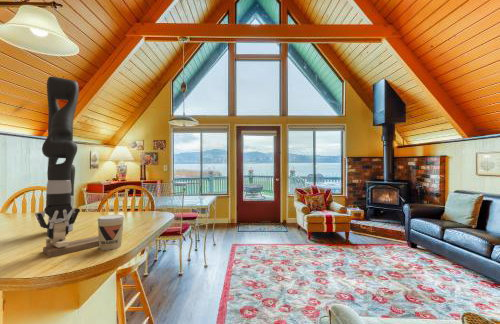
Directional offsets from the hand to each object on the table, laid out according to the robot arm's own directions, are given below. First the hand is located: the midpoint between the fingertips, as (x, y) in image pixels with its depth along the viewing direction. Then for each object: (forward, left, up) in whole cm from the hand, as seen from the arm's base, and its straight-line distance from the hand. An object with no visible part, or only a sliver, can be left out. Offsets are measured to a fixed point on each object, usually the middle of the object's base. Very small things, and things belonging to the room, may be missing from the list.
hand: (57, 236), depth 93 cm
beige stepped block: (+1, 0, -4) cm, 4 cm away
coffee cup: (+11, +14, -5) cm, 19 cm away
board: (+2, +6, -5) cm, 8 cm away
